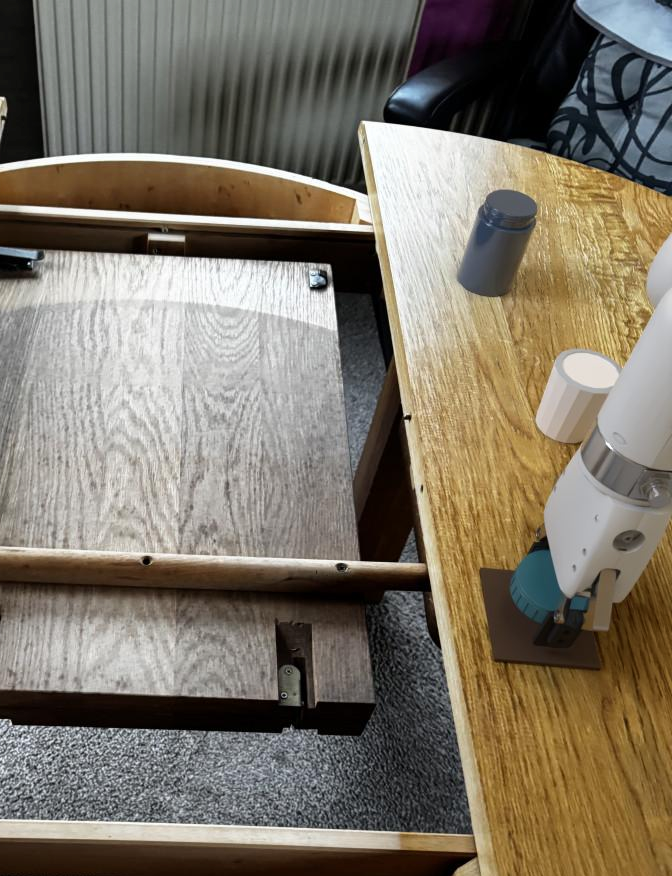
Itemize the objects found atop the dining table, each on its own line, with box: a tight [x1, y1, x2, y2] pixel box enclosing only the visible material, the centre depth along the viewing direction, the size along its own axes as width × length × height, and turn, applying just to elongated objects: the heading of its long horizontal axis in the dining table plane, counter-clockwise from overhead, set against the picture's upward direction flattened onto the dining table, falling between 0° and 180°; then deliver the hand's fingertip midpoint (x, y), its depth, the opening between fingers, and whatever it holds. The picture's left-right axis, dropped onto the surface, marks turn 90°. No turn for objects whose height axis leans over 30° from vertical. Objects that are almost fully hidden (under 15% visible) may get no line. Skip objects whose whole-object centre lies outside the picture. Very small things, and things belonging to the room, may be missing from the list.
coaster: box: [478, 567, 602, 671], centre depth 81 cm, size 9×10×1 cm
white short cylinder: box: [534, 348, 623, 444], centre depth 93 cm, size 7×7×7 cm
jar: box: [456, 188, 538, 297], centre depth 107 cm, size 7×7×10 cm
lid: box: [509, 550, 592, 624], centre depth 77 cm, size 7×7×2 cm
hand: (543, 608), depth 79 cm, fingers closed on lid, 6 cm apart
